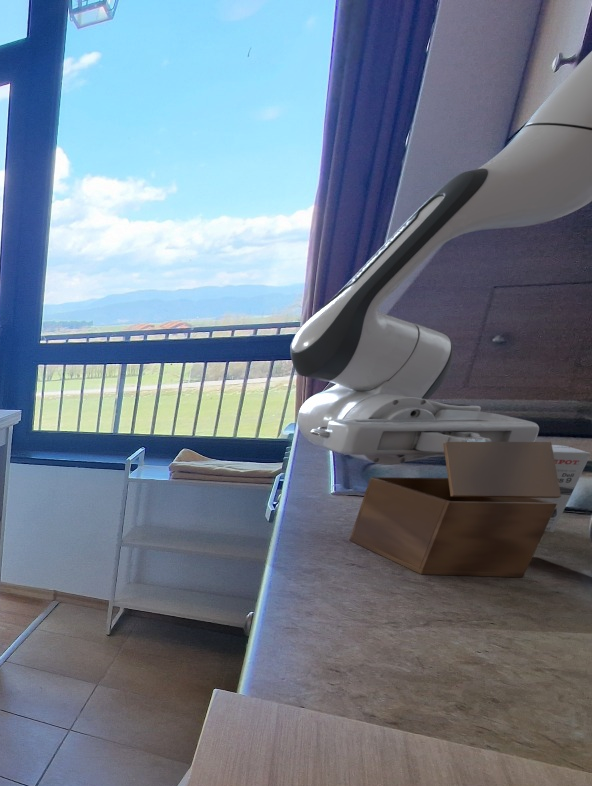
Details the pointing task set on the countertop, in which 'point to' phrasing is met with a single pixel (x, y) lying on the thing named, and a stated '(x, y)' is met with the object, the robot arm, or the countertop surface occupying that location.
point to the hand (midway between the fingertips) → (474, 447)
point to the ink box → (565, 478)
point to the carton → (449, 528)
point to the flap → (501, 469)
